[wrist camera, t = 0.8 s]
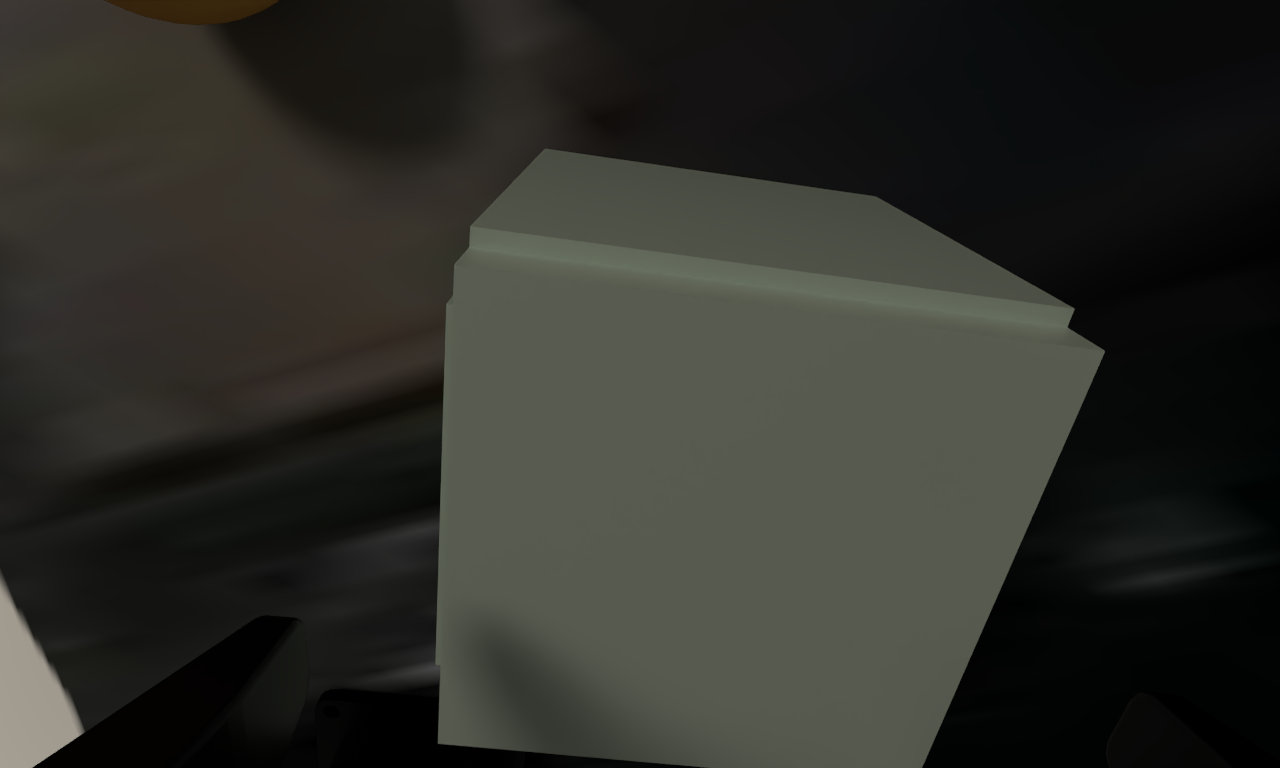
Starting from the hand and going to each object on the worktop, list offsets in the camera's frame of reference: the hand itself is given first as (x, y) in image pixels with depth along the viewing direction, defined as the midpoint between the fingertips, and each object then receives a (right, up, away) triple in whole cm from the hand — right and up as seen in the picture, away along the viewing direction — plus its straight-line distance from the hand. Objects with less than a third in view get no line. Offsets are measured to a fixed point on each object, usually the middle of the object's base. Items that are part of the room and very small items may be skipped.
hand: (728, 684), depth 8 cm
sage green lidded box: (0, +4, +10) cm, 11 cm away
